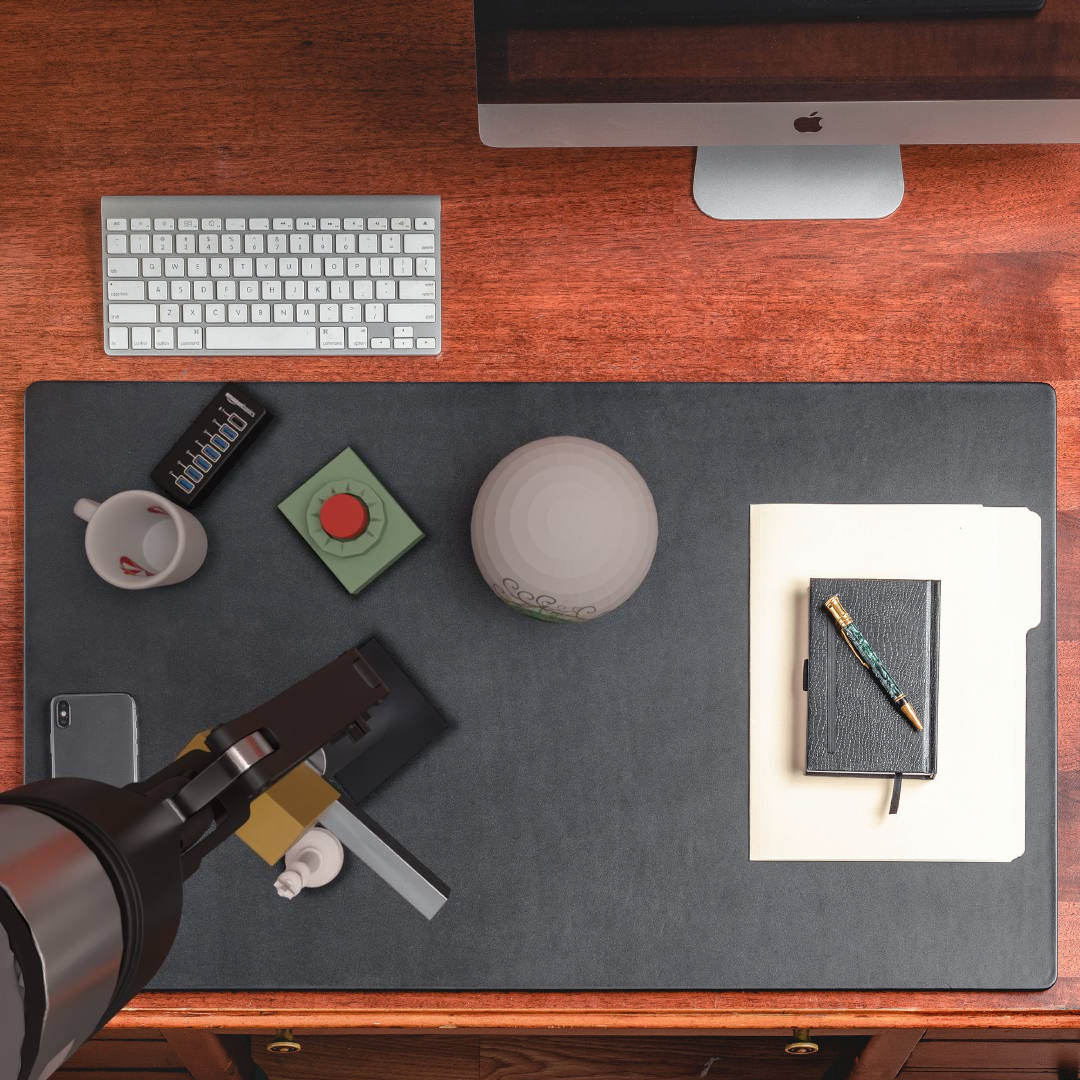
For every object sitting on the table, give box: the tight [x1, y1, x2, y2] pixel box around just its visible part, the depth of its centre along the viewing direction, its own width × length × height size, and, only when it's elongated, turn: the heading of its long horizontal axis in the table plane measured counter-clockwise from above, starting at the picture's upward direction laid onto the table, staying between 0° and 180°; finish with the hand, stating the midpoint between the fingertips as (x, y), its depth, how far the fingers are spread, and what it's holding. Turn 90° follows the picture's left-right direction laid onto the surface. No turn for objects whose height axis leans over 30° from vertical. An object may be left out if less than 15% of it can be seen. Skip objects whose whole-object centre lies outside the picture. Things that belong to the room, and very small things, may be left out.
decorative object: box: [470, 435, 659, 625], centre depth 71 cm, size 15×15×15 cm
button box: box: [277, 446, 426, 595], centre depth 76 cm, size 10×8×4 cm
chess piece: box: [273, 826, 344, 900], centre depth 71 cm, size 5×5×10 cm
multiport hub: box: [149, 380, 275, 509], centre depth 78 cm, size 4×11×2 cm, turn 141°
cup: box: [73, 489, 209, 590], centre depth 74 cm, size 11×8×8 cm
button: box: [320, 494, 367, 539], centre depth 74 cm, size 4×4×2 cm
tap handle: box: [172, 727, 452, 922], centre depth 48 cm, size 16×2×10 cm, turn 49°
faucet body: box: [307, 636, 450, 805], centre depth 65 cm, size 10×10×24 cm
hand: (246, 786), depth 45 cm, fingers open, 13 cm apart
